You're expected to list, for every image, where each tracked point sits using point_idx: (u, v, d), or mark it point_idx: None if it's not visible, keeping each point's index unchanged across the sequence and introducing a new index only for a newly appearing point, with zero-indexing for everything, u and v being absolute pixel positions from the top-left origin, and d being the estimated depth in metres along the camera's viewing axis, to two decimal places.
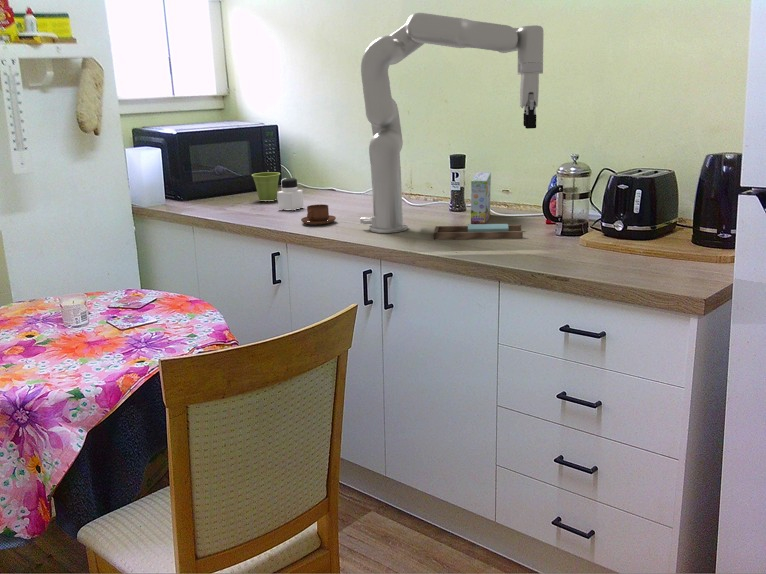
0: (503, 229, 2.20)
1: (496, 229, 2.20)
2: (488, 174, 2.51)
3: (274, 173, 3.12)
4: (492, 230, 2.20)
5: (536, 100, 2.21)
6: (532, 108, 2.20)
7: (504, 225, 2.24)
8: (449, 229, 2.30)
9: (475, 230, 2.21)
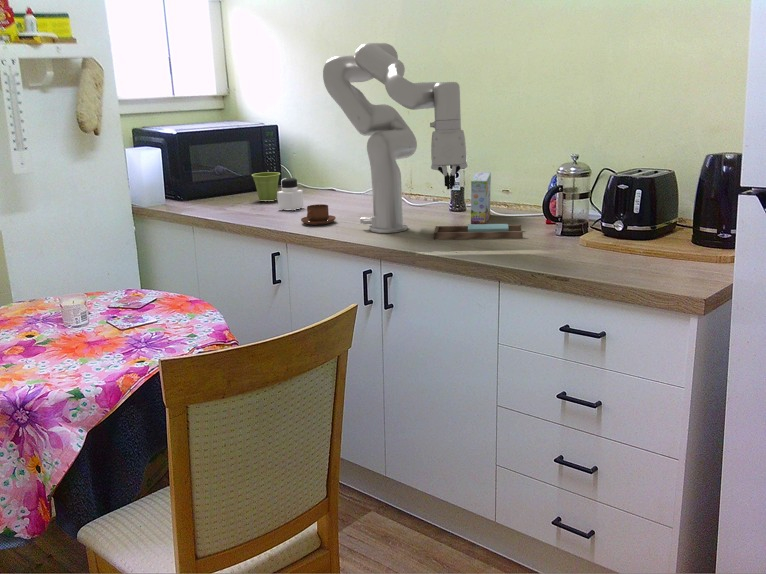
0: (503, 229, 2.20)
1: (496, 229, 2.20)
2: (488, 174, 2.51)
3: (274, 173, 3.12)
4: (492, 230, 2.20)
5: None
6: None
7: (504, 225, 2.24)
8: (449, 229, 2.30)
9: (475, 230, 2.21)
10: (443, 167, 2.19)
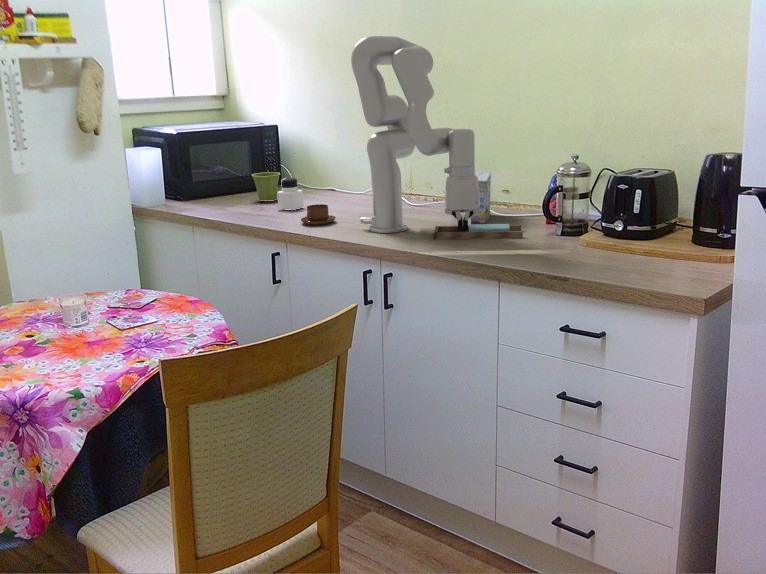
0: (504, 229, 2.20)
1: (497, 229, 2.20)
2: (488, 174, 2.51)
3: (274, 173, 3.12)
4: (493, 230, 2.20)
5: None
6: None
7: (505, 225, 2.24)
8: (449, 229, 2.30)
9: (476, 230, 2.21)
10: (457, 212, 2.22)
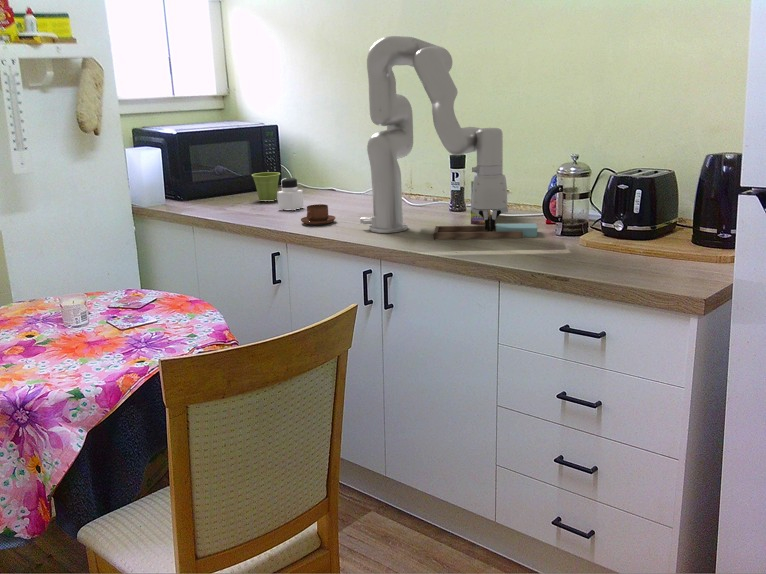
0: (532, 229, 2.19)
1: (525, 229, 2.19)
2: None
3: (274, 173, 3.12)
4: (520, 230, 2.19)
5: None
6: None
7: (532, 225, 2.23)
8: (449, 229, 2.30)
9: (503, 229, 2.20)
10: (484, 211, 2.21)
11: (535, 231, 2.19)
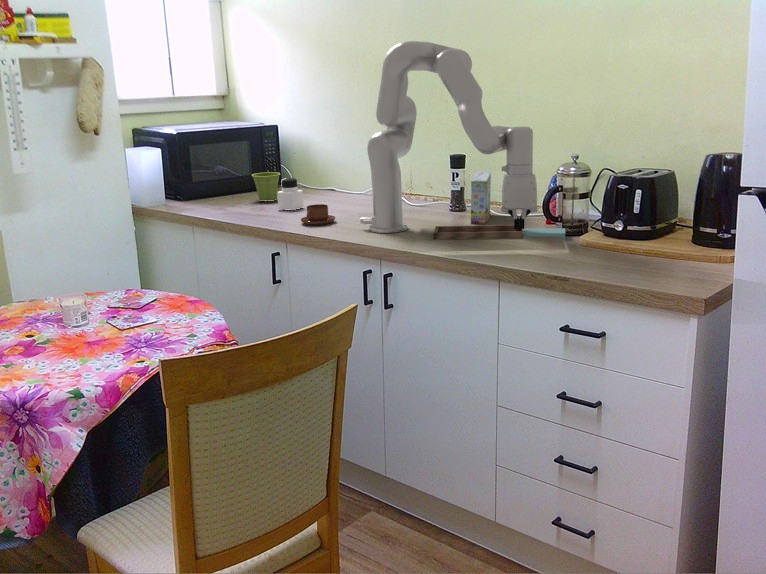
0: (560, 234, 2.17)
1: (552, 234, 2.18)
2: (488, 174, 2.51)
3: (274, 173, 3.12)
4: (548, 235, 2.18)
5: None
6: None
7: (561, 230, 2.21)
8: (449, 229, 2.30)
9: (531, 234, 2.19)
10: (513, 210, 2.20)
11: (563, 236, 2.17)
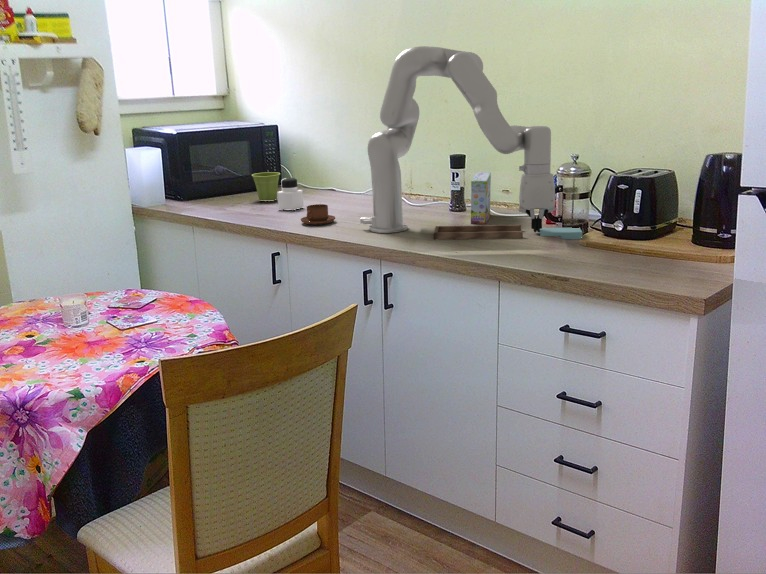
0: (577, 233, 2.18)
1: (570, 233, 2.18)
2: (488, 174, 2.51)
3: (274, 173, 3.12)
4: (565, 234, 2.18)
5: None
6: None
7: (576, 229, 2.22)
8: (449, 229, 2.30)
9: (548, 234, 2.19)
10: (531, 210, 2.19)
11: (580, 235, 2.18)
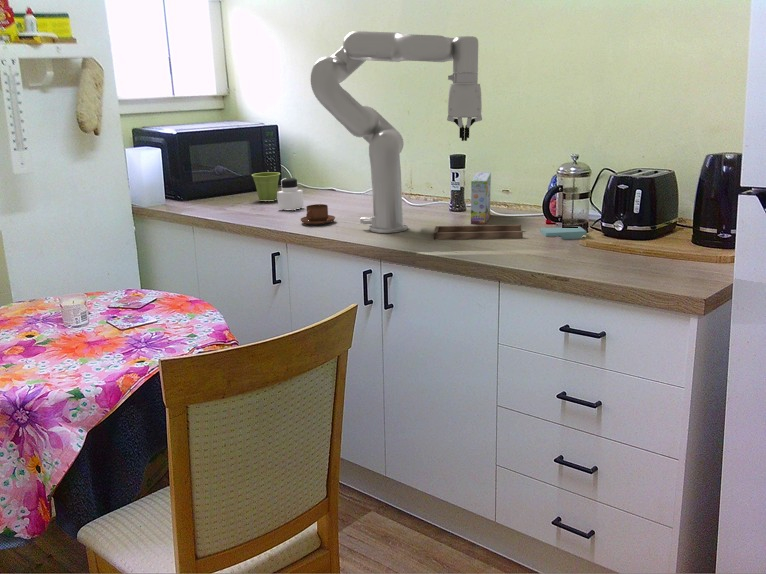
0: (581, 232, 2.18)
1: (574, 232, 2.18)
2: (488, 174, 2.51)
3: (274, 173, 3.12)
4: (570, 233, 2.18)
5: None
6: None
7: (578, 228, 2.22)
8: (449, 229, 2.30)
9: (553, 234, 2.18)
10: (459, 119, 2.28)
11: (584, 234, 2.18)
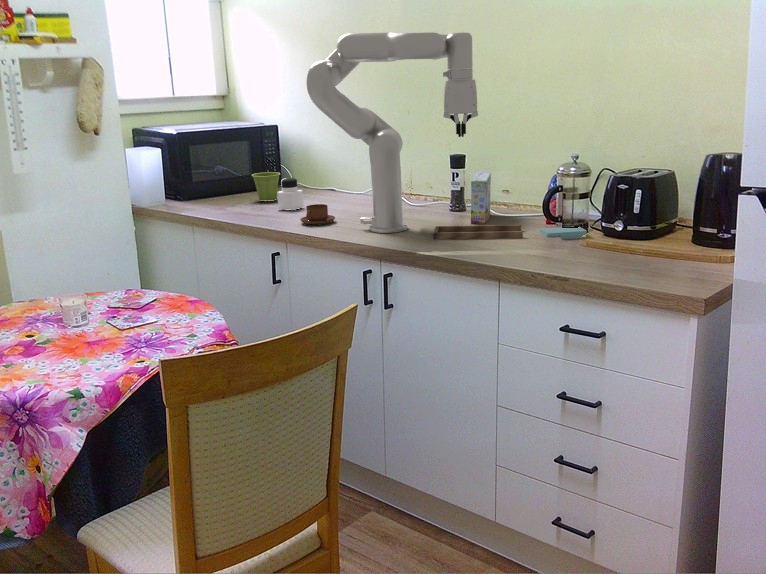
0: (581, 232, 2.19)
1: (575, 232, 2.18)
2: (488, 174, 2.51)
3: (274, 173, 3.12)
4: (571, 233, 2.18)
5: None
6: None
7: (578, 228, 2.23)
8: (449, 229, 2.30)
9: (554, 234, 2.18)
10: (455, 115, 2.29)
11: None
